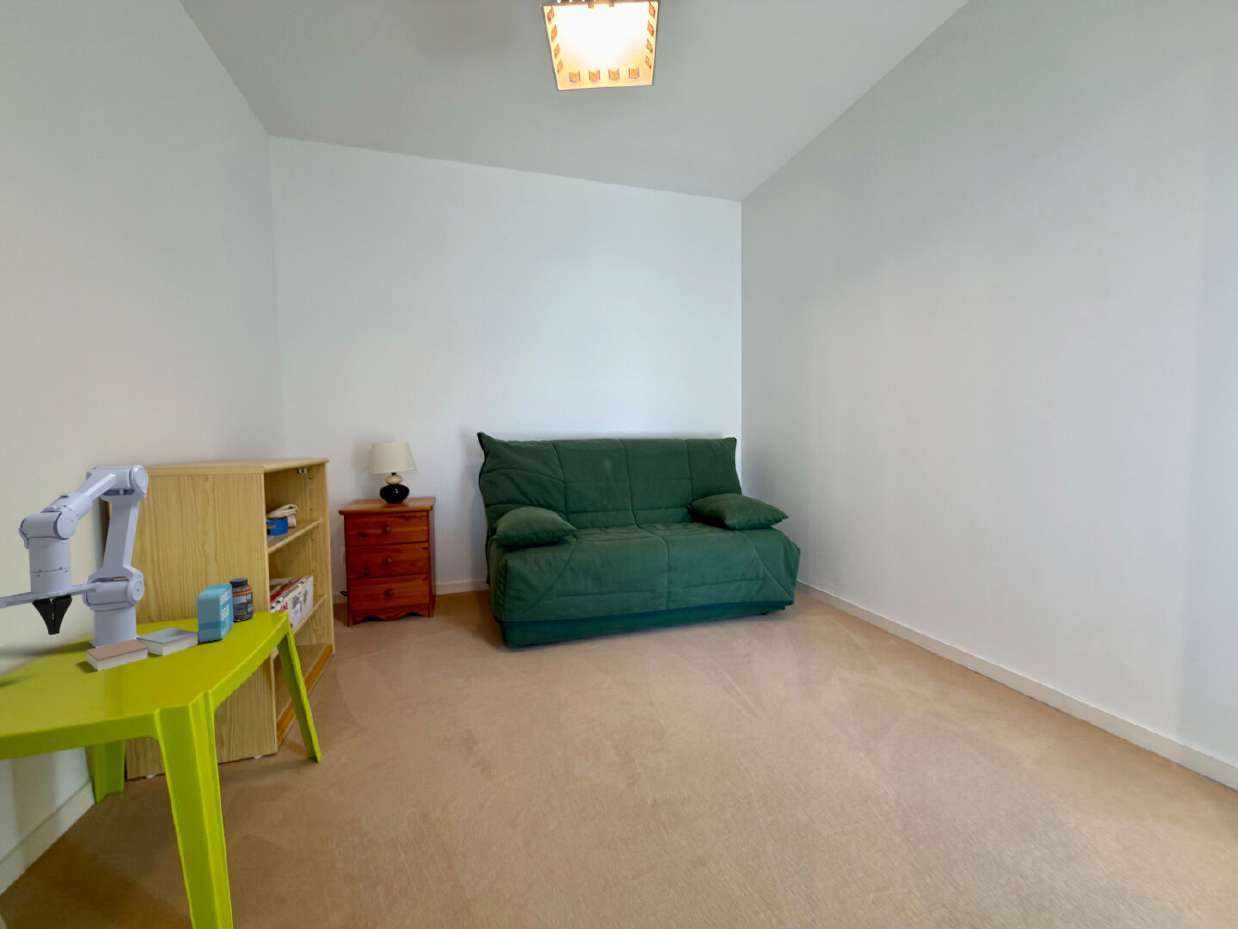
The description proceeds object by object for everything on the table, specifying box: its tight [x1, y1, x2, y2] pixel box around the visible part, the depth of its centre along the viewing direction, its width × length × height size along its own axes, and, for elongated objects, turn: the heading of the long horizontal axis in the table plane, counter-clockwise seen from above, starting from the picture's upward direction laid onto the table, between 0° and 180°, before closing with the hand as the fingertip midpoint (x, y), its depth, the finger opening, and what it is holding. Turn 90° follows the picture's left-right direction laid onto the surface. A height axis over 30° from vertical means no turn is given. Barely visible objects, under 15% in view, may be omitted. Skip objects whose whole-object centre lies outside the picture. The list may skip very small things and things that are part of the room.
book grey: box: [136, 627, 199, 657], centre depth 121 cm, size 11×7×3 cm, turn 68°
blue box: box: [196, 583, 234, 643], centre depth 129 cm, size 12×4×12 cm, turn 26°
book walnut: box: [85, 639, 148, 672], centre depth 114 cm, size 10×8×3 cm
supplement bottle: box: [229, 577, 254, 621], centre depth 142 cm, size 6×6×11 cm
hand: (53, 633), depth 106 cm, fingers closed
